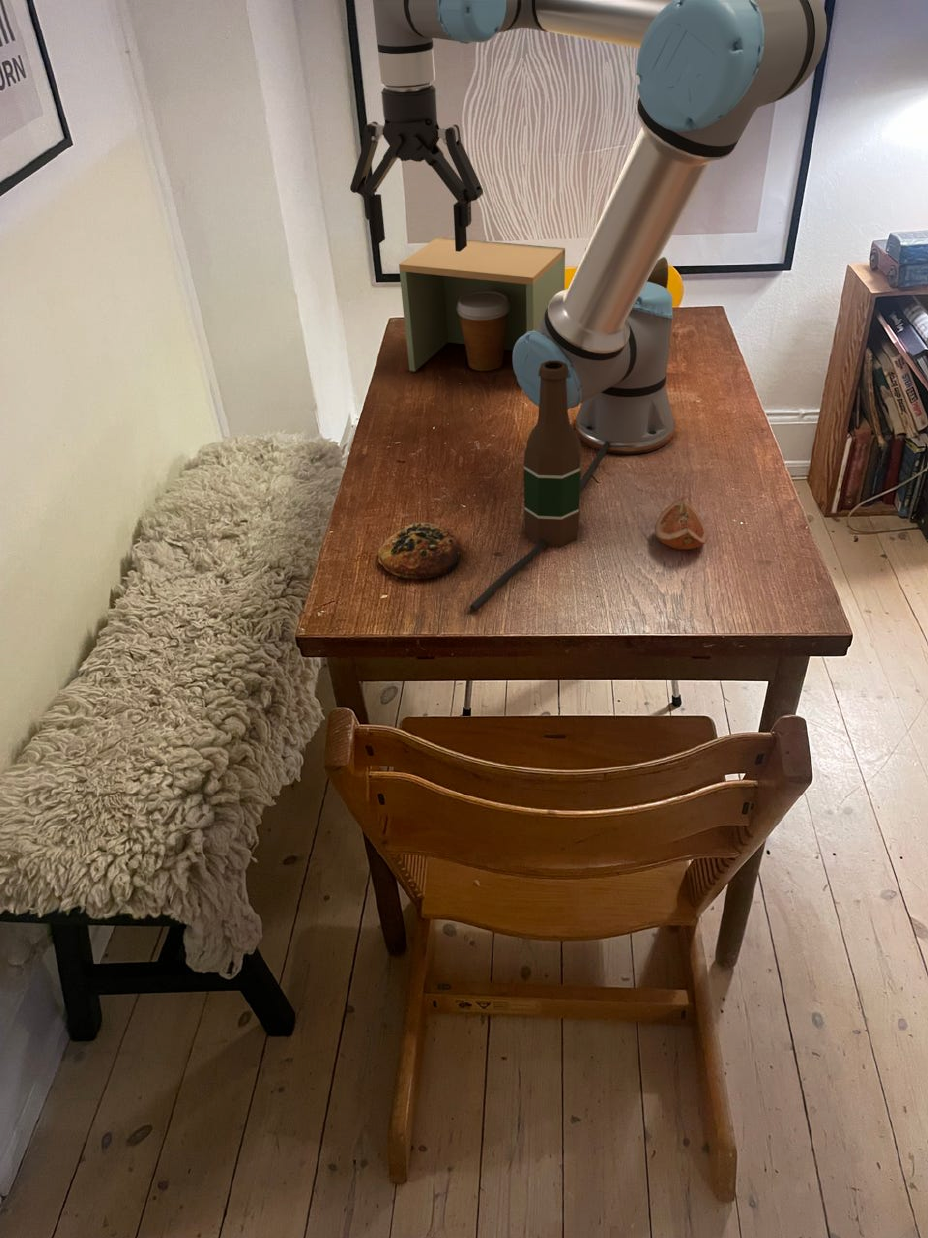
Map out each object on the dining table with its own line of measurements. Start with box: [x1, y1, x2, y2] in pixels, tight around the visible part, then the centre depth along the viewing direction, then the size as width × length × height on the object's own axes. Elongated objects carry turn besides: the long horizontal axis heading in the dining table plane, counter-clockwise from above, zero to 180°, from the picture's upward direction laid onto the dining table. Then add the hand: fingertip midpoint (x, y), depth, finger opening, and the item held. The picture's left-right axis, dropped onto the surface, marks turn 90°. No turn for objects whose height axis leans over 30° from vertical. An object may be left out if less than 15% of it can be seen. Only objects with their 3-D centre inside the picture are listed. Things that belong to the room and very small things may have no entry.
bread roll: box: [377, 522, 462, 580], centre depth 120 cm, size 11×11×5 cm
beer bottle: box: [523, 361, 583, 548], centre depth 116 cm, size 8×8×24 cm
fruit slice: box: [654, 496, 708, 550], centre depth 118 cm, size 8×7×5 cm
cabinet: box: [398, 236, 566, 372], centre depth 162 cm, size 15×24×19 cm, turn 65°
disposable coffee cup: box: [456, 290, 510, 372], centre depth 163 cm, size 10×10×12 cm
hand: (419, 245), depth 138 cm, fingers open, 13 cm apart
